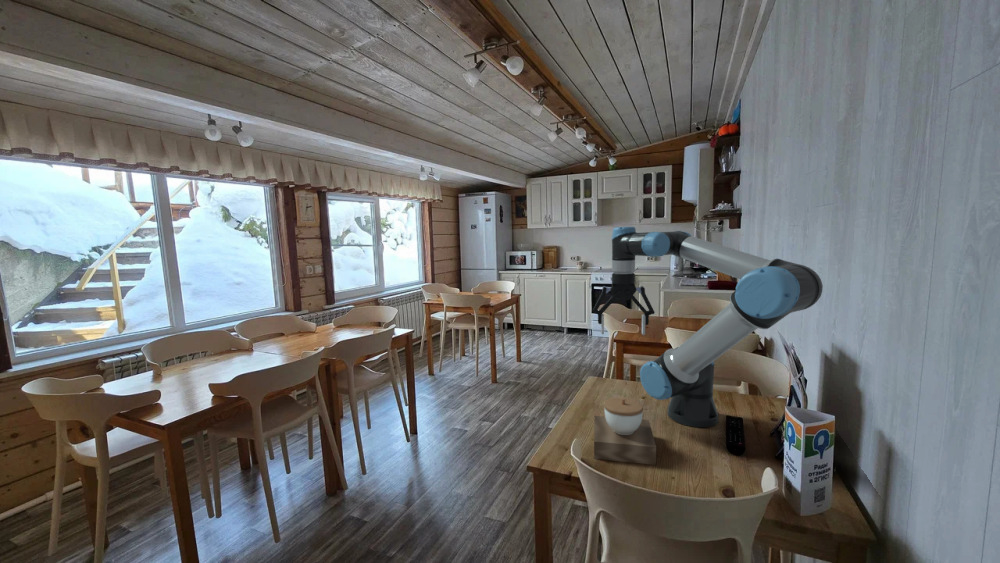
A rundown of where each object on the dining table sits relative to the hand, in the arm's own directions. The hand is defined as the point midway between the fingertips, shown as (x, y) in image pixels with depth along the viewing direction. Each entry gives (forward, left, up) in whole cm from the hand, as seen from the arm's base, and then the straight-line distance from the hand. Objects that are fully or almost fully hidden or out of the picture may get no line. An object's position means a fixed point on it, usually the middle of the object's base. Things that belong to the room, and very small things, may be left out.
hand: (622, 333), depth 141 cm
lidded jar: (+1, +27, -22) cm, 35 cm away
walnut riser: (+1, +27, -27) cm, 38 cm away
